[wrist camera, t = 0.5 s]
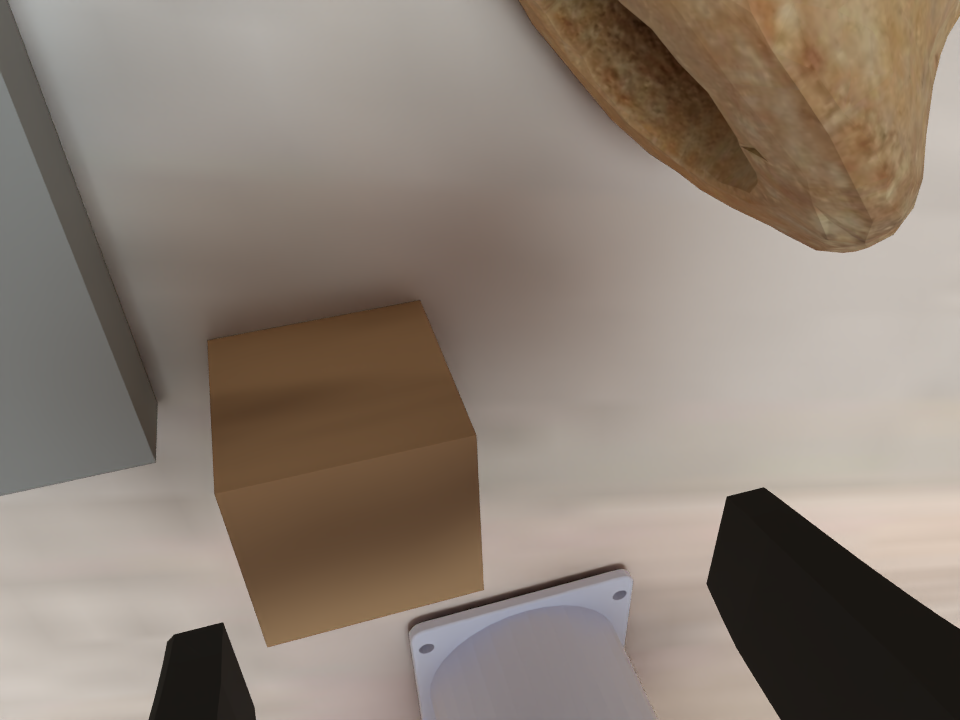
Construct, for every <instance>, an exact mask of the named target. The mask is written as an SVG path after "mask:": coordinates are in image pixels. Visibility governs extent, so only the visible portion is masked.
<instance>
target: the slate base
mask: <svg viewBox="0 0 960 720" xmlns="http://www.w3.org/2000/svg"><path fill="white" fill-rule="evenodd" d="M157 406H158V404H157V402H156V399H155V396H154V394H153V391H152V388H151V385H150V383H149V380H148V377H147V375H146V372H145V369H144V367H143V364H142V361H141V359H140V356H139V353H138V351H137V348H136V345H135V342H134V340H133V337H132V334H131V332H130V329H129V326H128V324H127V321H126V318H125V316H124V313H123V310H122V308H121V305H120V302H119V299H118V297H117V294H116V291H115V289H114V286H113V283H112V281H111V278H110V275H109V273H108V270H107V267H106V265H105V262H104V259H103V256H102V254H101V251H100V248H99V246H98V243H97V240H96V238H95V235H94V232H93V230H92V227H91V224H90V222H89V219H88V216H87V213H86V211H85V208H84V205H83V203H82V200H81V197H80V195H79V192H78V189H77V187H76V184H75V181H74V179H73V176H72V173H71V170H70V168H69V165H68V162H67V160H66V157H65V154H64V152H63V149H62V146H61V144H60V141H59V138H58V136H57V133H56V130H55V127H54V125H53V122H52V119H51V117H50V114H49V111H48V109H47V106H46V103H45V101H44V98H43V95H42V92H41V90H40V87H39V84H38V82H37V79H36V76H35V74H34V71H33V68H32V66H31V63H30V60H29V58H28V55H27V52H26V49H25V47H24V44H23V41H22V39H21V36H20V33H19V31H18V28H17V25H16V23H15V20H14V17H13V15H12V12H11V9H10V6H9V4H8V1H7V0H0V496H2V495H7V494H12V493H16V492H21V491H26V490H30V489H35V488H40V487H44V486H49V485H54V484H58V483H63V482H67V481H72V480H77V479H81V478H86V477H91V476H95V475H100V474H105V473H109V472H114V471H119V470H123V469H128V468H132V467H137V466H142V465H146V464H151V463H156V439H157Z"/></svg>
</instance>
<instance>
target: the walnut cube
mask: <svg viewBox="0 0 960 720" xmlns="http://www.w3.org/2000/svg"><path fill="white" fill-rule="evenodd" d="M207 343H208V364H209V386H210V408H211V429H212V451H213V472H214V494H215V497H216V500H217V503H218V506H219V508H220V511H221V514H222V517H223V520H224V523H225V526H226V529H227V532H228V535H229V537H230V540H231V543H232V546H233V549H234V552H235V555H236V558H237V561H238V563H239V566H240V569H241V572H242V575H243V578H244V581H245V584H246V587H247V590H248V592H249V595H250V598H251V601H252V604H253V607H254V610H255V613H256V616H257V618H258V621H259V624H260V627H261V630H262V633H263V636H264V639H265V642H266V645H267V647H271V646H274V645H278V644H282V643H286V642H290V641H293V640H297V639H301V638H305V637H308V636H312V635H316V634H320V633H323V632H327V631H331V630H335V629H339V628H342V627H346V626H350V625H354V624H357V623H361V622H365V621H369V620H372V619H376V618H380V617H384V616H387V615H391V614H395V613H399V612H403V611H406V610H410V609H414V608H418V607H421V606H425V605H429V604H433V603H436V602H440V601H444V600H448V599H452V598H455V597H459V596H463V595H467V594H470V593H474V592H478V591H482V590H484V584H483V563H482V542H481V521H480V501H479V480H478V459H477V438H476V433H475V431H474V428H473V426H472V423H471V421H470V419H469V416H468V414H467V411H466V409H465V407H464V404H463V402H462V399H461V397H460V395H459V392H458V390H457V388H456V385H455V383H454V380H453V378H452V376H451V373H450V371H449V368H448V366H447V364H446V361H445V359H444V356H443V354H442V352H441V349H440V347H439V344H438V342H437V340H436V337H435V335H434V332H433V330H432V328H431V325H430V323H429V320H428V318H427V316H426V313H425V311H424V309H423V306H422V304H421V301H420V300H418V301H413V302H408V303H403V304H397V305H392V306H387V307H381V308H376V309H371V310H366V311H360V312H355V313H350V314H344V315H339V316H334V317H328V318H323V319H318V320H313V321H307V322H302V323H297V324H291V325H286V326H281V327H275V328H270V329H265V330H260V331H254V332H249V333H244V334H238V335H233V336H228V337H223V338H217V339H212V340H207Z"/></svg>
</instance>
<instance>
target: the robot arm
mask: <svg viewBox="0 0 960 720" xmlns="http://www.w3.org/2000/svg"><path fill="white" fill-rule="evenodd" d="M707 586H708V588H709V591H710V593H711V595H712V597H713V599H714V602H715V604H716V606H717V608H718V610H719V613H720V615H721V617H722V619H723V621H724V623H725V625H726V627H727V629H728V632H729V634H730V636H731V638H732V640H733V642H734V644H735V646H736V648H737V650H738V651H739V653H740V655H741V656H742V658H743V660H744V661H745V663H746V665H747V666H748V668H749V669H750V671H751V673H752V674H753V676H754V677H755V679H756V681H757V682H758V684H759V686H760V687H761V689H762V690H763V692H764V694H765V695H766V697H767V698H768V700H769V702H770V703H771V705H772V706H773V708H774V710H775V711H776V713H777V714H778V716H779V718H780V719H781V720H960V629H959V628H957V627H956V626H954V625H953V624H951V623H950V622H948V621H947V620H945V619H943V618H942V617H940V616H939V615H938V614H936V613H935V612H933V611H932V610H930V609H929V608H927V607H926V606H924V605H923V604H921V603H920V602H919V601H917V600H916V599H914V598H913V597H911V596H910V595H909V594H907V593H906V592H904V591H903V590H902V589H900V588H899V587H897V586H896V585H895V584H893V583H892V582H890V581H889V580H888V579H886V578H885V577H883V576H882V575H880V574H879V573H878V572H876V571H875V570H874V569H872V568H871V567H869V566H868V565H867V564H865V563H864V562H863V561H861V560H860V559H859V558H857V557H856V556H854V555H853V554H852V553H850V552H849V551H848V550H846V549H845V548H844V547H842V546H841V545H840V544H838V543H837V542H836V541H834V540H833V539H832V538H830V537H829V536H828V535H826V534H825V533H824V532H822V531H821V530H820V529H819V528H817V527H816V526H815V525H813V524H812V523H811V522H809V521H808V520H807V519H805V518H804V517H803V516H801V515H800V514H799V513H797V512H796V511H795V510H793V509H792V508H791V507H790V506H788V505H787V504H786V503H784V502H783V501H782V500H780V499H779V498H778V497H776V496H775V495H774V494H772V493H771V492H769V491H768V490H767V489H765V488H764V487H763V488H759V489H755V490H751V491H747V492H743V493H739V494H735V495H731V496H727V498H726V502H725V507H724V511H723V515H722V519H721V524H720V528H719V532H718V537H717V541H716V545H715V550H714V554H713V558H712V562H711V567H710V571H709V575H708V580H707ZM632 587H633V578H632V577H631V575H630V573H629V572H628V571H627V570H624V569H618V570H614V571H610V572H607V573H603V574H599V575H595V576H592V577H588V578H584V579H581V580H577V581H573V582H570V583H566V584H562V585H558V586H555V587H551V588H547V589H544V590H540V591H536V592H532V593H529V594H525V595H521V596H518V597H514V598H510V599H507V600H503V601H499V602H495V603H492V604H488V605H484V606H481V607H477V608H473V609H470V610H466V611H462V612H458V613H455V614H451V615H447V616H444V617H440V618H436V619H432V620H429V621H425V622H422V623H419V624H417V625H415V626H414V627H413V628H412V629H411V630H410V632H409V641H410V647H411V654H412V661H413V667H414V674H415V680H416V687H417V694H418V700H419V707H420V713H421V720H658V718H657V716H656V714H655V712H654V710H653V708H652V706H651V704H650V702H649V700H648V698H647V696H646V693H645V691H644V689H643V687H642V685H641V683H640V681H639V679H638V677H637V675H636V673H635V671H634V669H633V666H632V664H631V662H630V660H629V658H628V656H627V654H626V652H625V650H624V645H625V638H626V631H627V624H628V616H629V609H630V602H631V595H632ZM149 720H256V716H255V708H254V705H253V702H252V699H251V697H250V694H249V691H248V688H247V686H246V683H245V680H244V678H243V675H242V672H241V669H240V667H239V664H238V661H237V659H236V656H235V653H234V651H233V648H232V645H231V642H230V640H229V637H228V634H227V632H226V629H225V626H224V623H219V624H215V625H211V626H207V627H203V628H199V629H195V630H191V631H187V632H183V633H179V634H175V635H173V636H172V638H171V639H170V640H169V641H168V642H167V646H166V651H165V656H164V661H163V665H162V670H161V674H160V678H159V682H158V686H157V690H156V694H155V698H154V702H153V706H152V709H151V713H150V716H149Z"/></svg>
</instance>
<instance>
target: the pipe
mask: <svg viewBox="0 0 960 720" xmlns="http://www.w3.org/2000/svg"><path fill="white" fill-rule="evenodd" d="M519 2H520V3H521V5H522V7H523V8H524V10H525V12H526V13H527V15H528V17H529V19H530V20H531V22H532V24H533V25H534V26H535V28H536V29H537V30H538V31H539V32H540V34H541V35H542V36H543V37H544V38H545V40H546V41H547V42H548V43H549V45H550V46H551V47H552V48H553V49H554V51H555V52H556V53H557V54H558V56H559V57H560V58H561V59H562V60H563V62H564V63H565V64H566V65H567V66H568V68H569V69H570V70H571V71H572V73H573V74H574V75H575V76H576V77H577V79H578V80H579V81H580V82H581V83H582V85H583V86H584V87H585V88H586V89H587V91H588V92H589V93H590V94H591V96H592V97H593V98H594V99H595V100H596V102H597V103H598V104H599V105H600V106H601V108H602V109H603V110H604V111H605V112H606V114H607V115H608V116H609V117H610V118H611V120H612V121H613V122H615V123H616V124H617V125H618V126H619V127H620V128H621V129H622V130H624V131H625V132H626V133H627V134H628V135H629V136H630V137H631V138H633V139H634V140H635V141H636V142H637V143H638V144H639V145H640V146H641V147H643V148H644V149H645V150H646V151H647V152H648V153H649V154H651V155H652V156H654V157H655V158H657V159H658V160H660V161H661V162H663V163H664V164H666V165H668V166H669V167H671V168H672V169H674V170H675V171H677V172H678V173H679V174H681V175H682V176H683V177H685V178H686V179H687V180H689V181H690V182H691V183H692V184H694V185H695V186H696V187H698V188H699V189H700V190H702V191H704V192H706V193H707V194H709V195H711V196H712V197H714V198H716V199H718V200H719V201H721V202H723V203H725V204H726V205H728V206H730V207H732V208H734V209H736V210H738V211H740V212H742V213H744V214H746V215H748V216H750V217H753V218H755V219H757V220H759V221H761V222H763V223H765V224H767V225H769V226H771V227H773V228H775V229H776V230H778V231H780V232H782V233H784V234H785V235H787V236H789V237H791V238H793V239H795V240H797V241H799V242H801V243H803V244H805V245H807V246H809V247H811V248H813V249H815V250H819V251H829V252H840V253H845V252H854V251H859V250H862V249H865V248H868V247H870V246H872V245H874V244H876V243H878V242H880V241H882V240H884V239H886V238H888V237H890V236H892V235H894V233H895V232H896V231H897V229H898V228H899V227H900V225H901V224H902V223H903V221H904V220H905V218H906V217H907V216H908V214H909V213H910V212H911V210H912V209H913V208H914V205H915V202H916V198H917V195H918V192H919V189H920V186H921V183H922V179H923V170H924V157H925V143H926V133H927V125H928V118H929V111H930V104H931V96H932V89H933V84H934V80H935V75H936V71H937V67H938V63H939V59H940V55H941V52H942V49H943V47H944V44H945V42H946V39H947V36H948V34H949V33H950V31H951V29H952V28H953V26H954V24H955V23H956V21H957V19H958V18H959V16H960V0H519Z"/></svg>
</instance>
